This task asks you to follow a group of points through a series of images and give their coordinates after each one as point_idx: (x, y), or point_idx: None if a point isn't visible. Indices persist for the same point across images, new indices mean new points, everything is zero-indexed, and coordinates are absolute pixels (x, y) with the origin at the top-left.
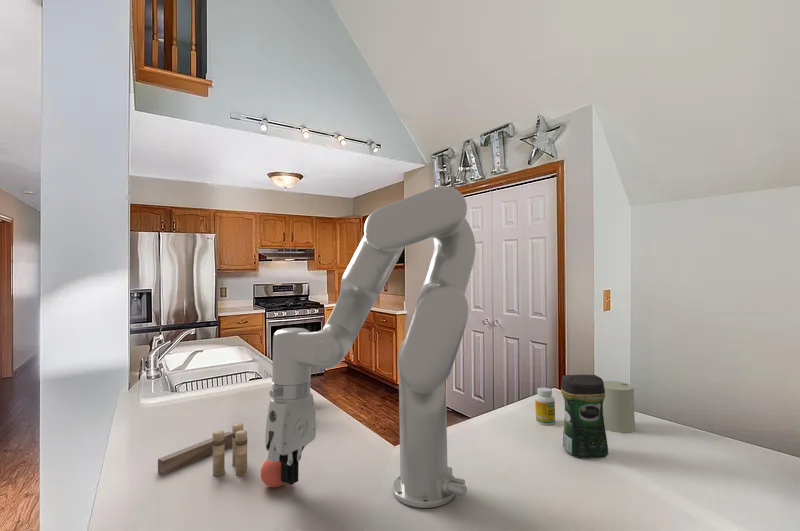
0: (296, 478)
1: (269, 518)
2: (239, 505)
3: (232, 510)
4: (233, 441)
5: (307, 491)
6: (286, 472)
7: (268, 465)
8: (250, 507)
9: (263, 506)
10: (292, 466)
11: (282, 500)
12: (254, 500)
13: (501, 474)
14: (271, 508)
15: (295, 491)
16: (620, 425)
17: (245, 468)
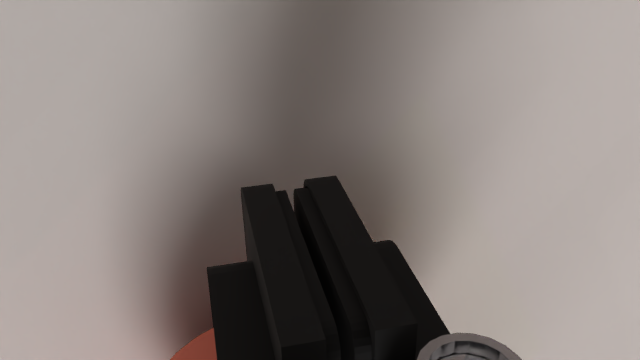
0: (278, 202)
1: (634, 18)
2: (554, 317)
3: (609, 301)
4: None
5: (149, 68)
6: (422, 304)
7: None
8: (552, 249)
9: (515, 191)
10: (406, 314)
11: (392, 142)
12: (476, 299)
13: None
14: (518, 120)
15: (223, 167)
16: None
17: None
